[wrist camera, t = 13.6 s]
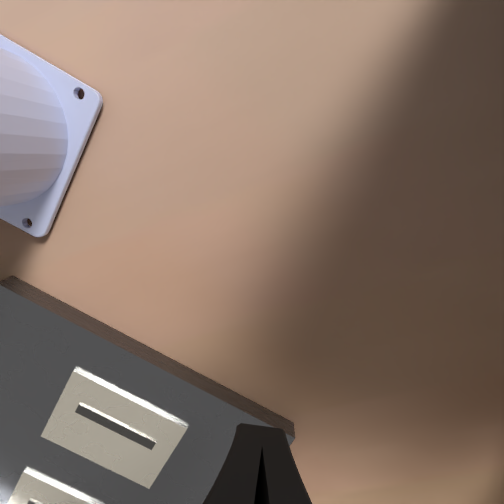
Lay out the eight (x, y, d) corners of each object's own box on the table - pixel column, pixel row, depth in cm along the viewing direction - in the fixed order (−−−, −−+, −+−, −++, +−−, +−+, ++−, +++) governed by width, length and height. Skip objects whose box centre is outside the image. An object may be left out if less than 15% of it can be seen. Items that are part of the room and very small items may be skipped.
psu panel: (-89, 523, 25) (-111, 546, 23) (12, 275, 20) (-9, 285, 18) (144, 627, 26) (136, 654, 25) (293, 422, 21) (295, 442, 20)
